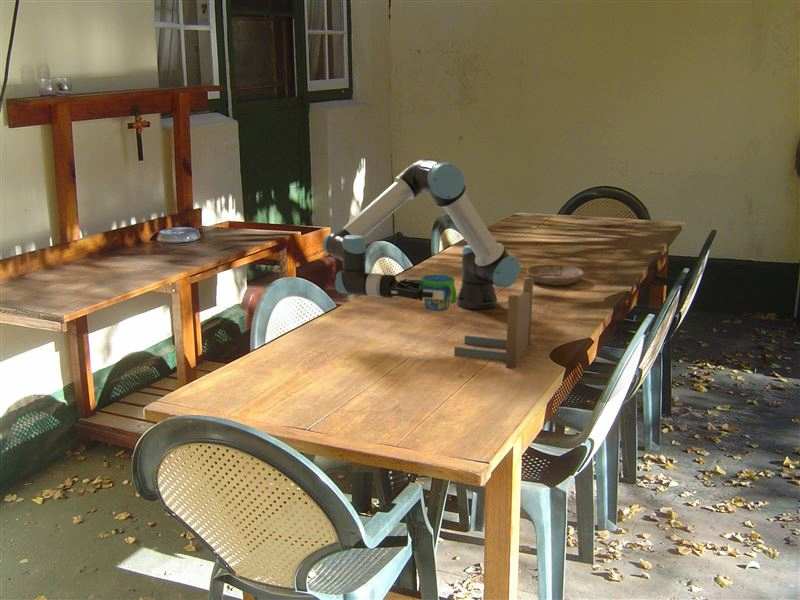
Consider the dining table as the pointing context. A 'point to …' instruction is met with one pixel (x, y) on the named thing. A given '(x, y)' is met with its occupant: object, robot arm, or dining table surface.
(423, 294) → the robot arm
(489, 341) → the headboard cradle
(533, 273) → the ceramic bowl
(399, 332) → the dining table surface
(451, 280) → the snack cup
